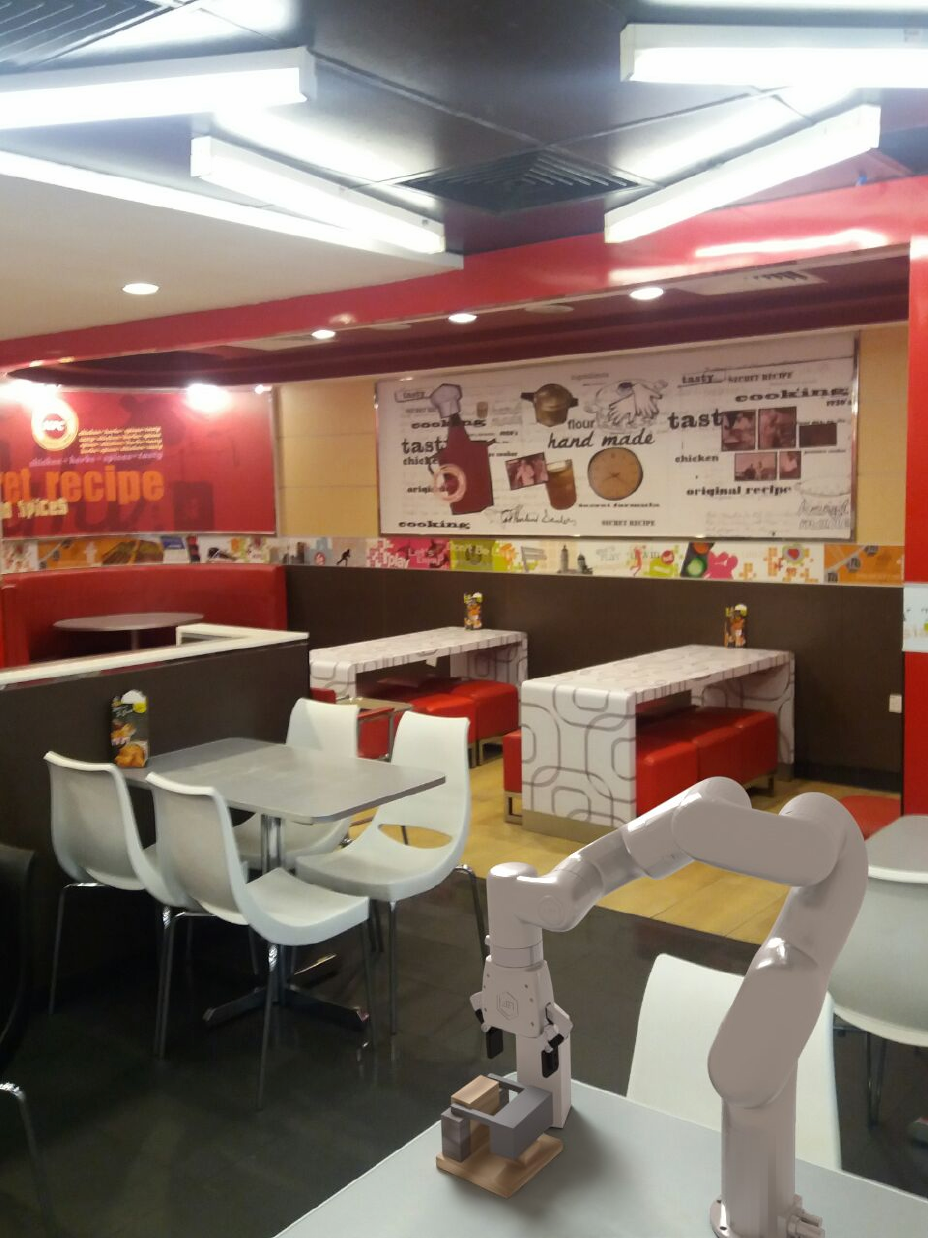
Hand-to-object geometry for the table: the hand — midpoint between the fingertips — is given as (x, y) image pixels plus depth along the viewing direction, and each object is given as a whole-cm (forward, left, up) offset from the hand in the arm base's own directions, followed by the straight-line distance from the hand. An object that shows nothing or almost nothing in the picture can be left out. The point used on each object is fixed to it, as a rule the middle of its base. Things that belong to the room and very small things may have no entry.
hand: (522, 1064), depth 162 cm
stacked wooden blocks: (+5, 0, -16) cm, 17 cm away
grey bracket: (+5, -1, -12) cm, 13 cm away
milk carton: (+6, -13, -16) cm, 22 cm away
